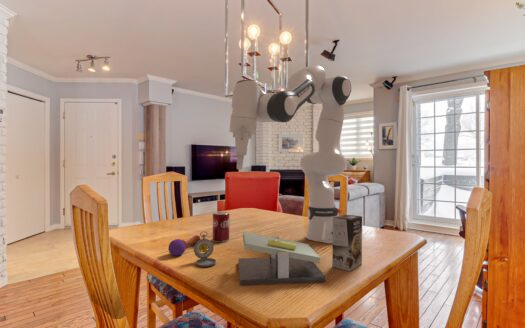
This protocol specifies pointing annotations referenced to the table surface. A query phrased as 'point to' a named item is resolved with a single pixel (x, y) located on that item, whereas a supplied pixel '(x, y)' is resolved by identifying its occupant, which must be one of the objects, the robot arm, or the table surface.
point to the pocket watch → (201, 246)
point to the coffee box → (347, 242)
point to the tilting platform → (279, 247)
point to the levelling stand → (278, 270)
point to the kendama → (181, 245)
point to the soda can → (221, 226)
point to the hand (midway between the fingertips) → (239, 168)
